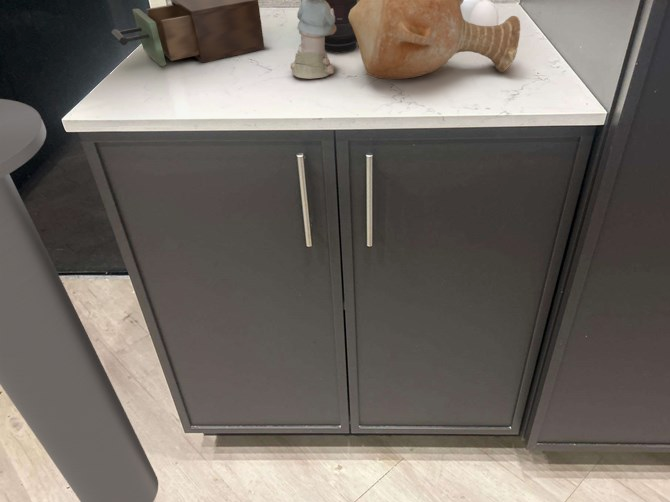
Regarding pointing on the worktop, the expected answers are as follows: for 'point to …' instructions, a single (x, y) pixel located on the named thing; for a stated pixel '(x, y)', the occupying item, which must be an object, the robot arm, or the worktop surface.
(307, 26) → the figurine
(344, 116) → the worktop surface
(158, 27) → the drawer
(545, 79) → the worktop surface
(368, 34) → the jug
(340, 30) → the camera lens
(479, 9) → the egg
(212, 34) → the cabinet
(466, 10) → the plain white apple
